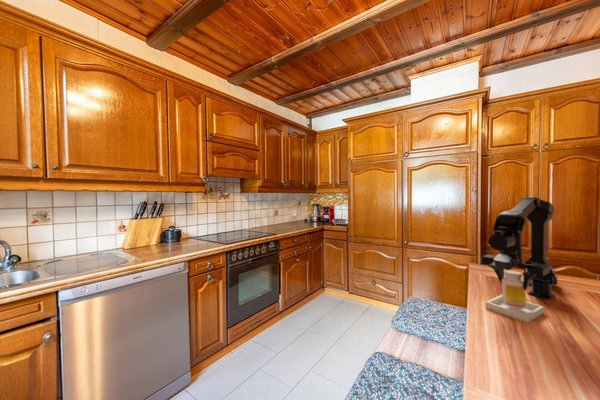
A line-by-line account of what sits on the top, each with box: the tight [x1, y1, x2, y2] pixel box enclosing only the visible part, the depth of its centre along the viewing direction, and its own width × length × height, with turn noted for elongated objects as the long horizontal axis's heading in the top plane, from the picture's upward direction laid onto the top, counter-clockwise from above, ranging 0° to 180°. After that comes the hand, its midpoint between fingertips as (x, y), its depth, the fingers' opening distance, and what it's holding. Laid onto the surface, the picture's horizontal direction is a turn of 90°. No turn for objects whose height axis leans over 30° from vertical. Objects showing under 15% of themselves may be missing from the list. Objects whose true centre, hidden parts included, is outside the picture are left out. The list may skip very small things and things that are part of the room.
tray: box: [485, 294, 545, 324], centre depth 89 cm, size 13×13×2 cm
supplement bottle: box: [501, 270, 527, 309], centre depth 88 cm, size 7×7×13 cm
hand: (513, 286), depth 89 cm, fingers closed on supplement bottle, 7 cm apart
